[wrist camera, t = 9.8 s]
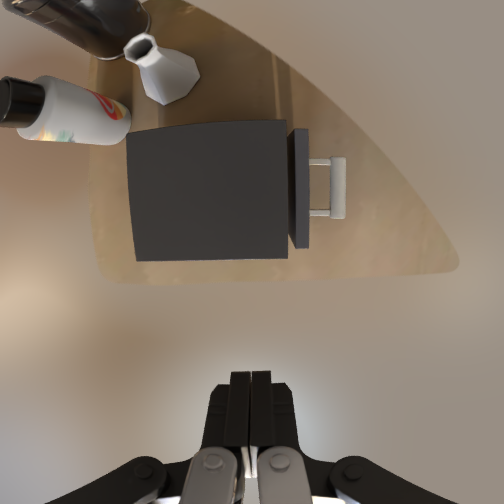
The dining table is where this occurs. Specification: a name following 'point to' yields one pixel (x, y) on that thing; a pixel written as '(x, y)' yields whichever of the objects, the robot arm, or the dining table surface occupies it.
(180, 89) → the flask
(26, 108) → the lotion bottle
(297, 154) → the drawer
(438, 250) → the dining table surface
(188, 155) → the cabinet
